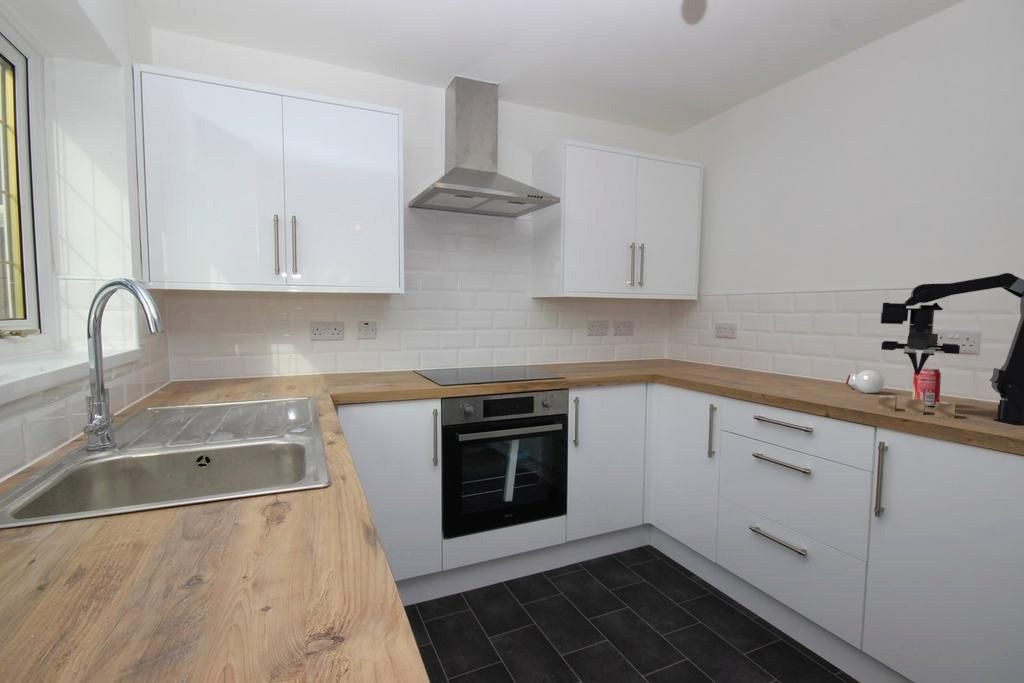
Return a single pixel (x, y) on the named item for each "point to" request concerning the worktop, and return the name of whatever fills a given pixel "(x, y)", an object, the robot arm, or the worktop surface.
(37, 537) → the worktop surface
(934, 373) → the soda can
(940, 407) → the pip block near
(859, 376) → the potion bottle
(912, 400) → the plain block
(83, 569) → the worktop surface
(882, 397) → the pip block far
